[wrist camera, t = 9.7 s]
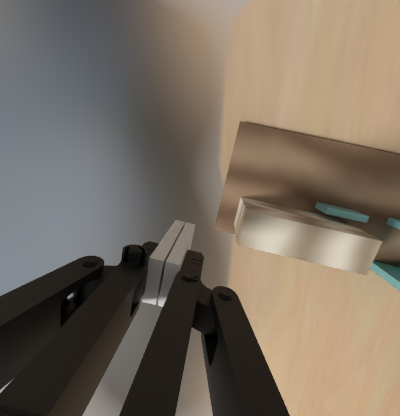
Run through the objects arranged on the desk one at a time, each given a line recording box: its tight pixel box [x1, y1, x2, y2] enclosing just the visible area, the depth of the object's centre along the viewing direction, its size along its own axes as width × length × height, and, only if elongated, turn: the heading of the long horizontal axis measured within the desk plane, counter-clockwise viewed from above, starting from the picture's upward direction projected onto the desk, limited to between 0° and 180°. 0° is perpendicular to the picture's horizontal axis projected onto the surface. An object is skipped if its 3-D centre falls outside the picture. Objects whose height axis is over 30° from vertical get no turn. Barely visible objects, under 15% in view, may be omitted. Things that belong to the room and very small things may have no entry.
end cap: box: [315, 202, 369, 223], centre depth 28 cm, size 7×5×3 cm
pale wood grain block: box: [234, 197, 382, 275], centre depth 26 cm, size 14×4×8 cm, turn 78°
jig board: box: [215, 122, 400, 267], centre depth 29 cm, size 15×28×1 cm, turn 78°
